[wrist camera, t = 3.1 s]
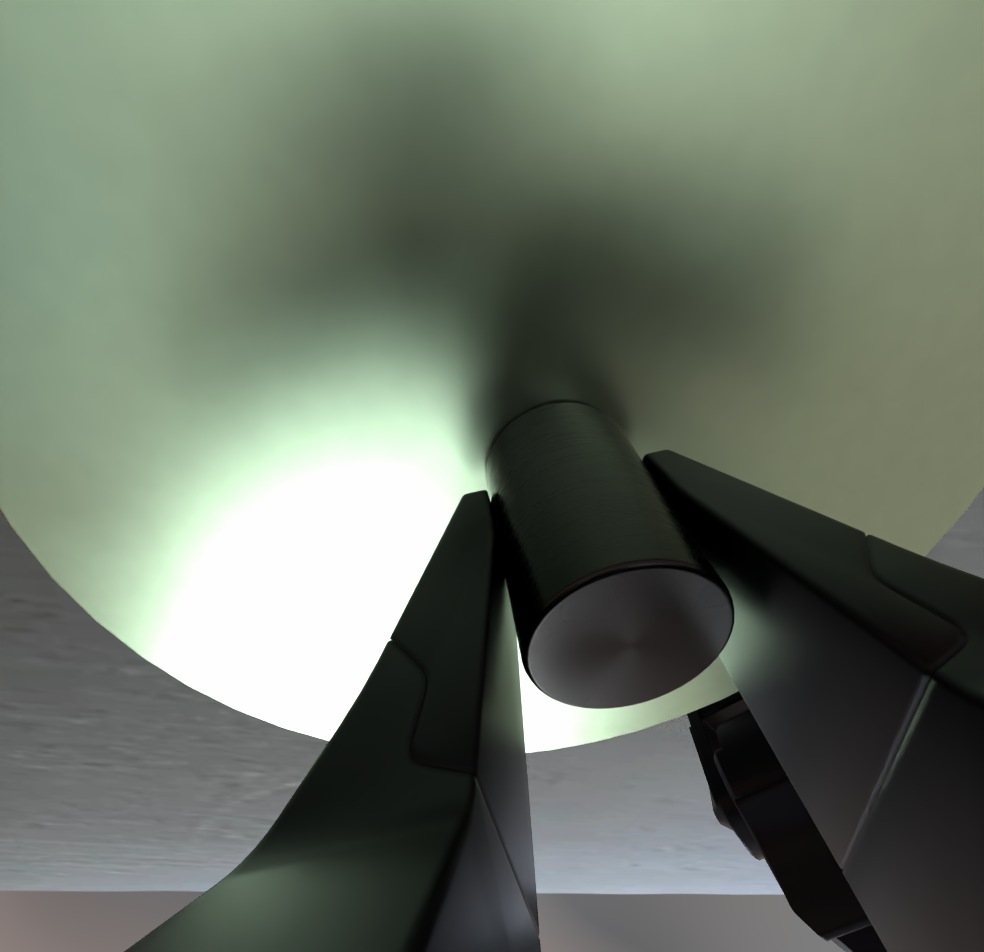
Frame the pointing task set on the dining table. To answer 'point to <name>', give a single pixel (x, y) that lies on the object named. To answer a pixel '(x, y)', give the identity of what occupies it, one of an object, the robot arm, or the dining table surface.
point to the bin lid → (475, 317)
